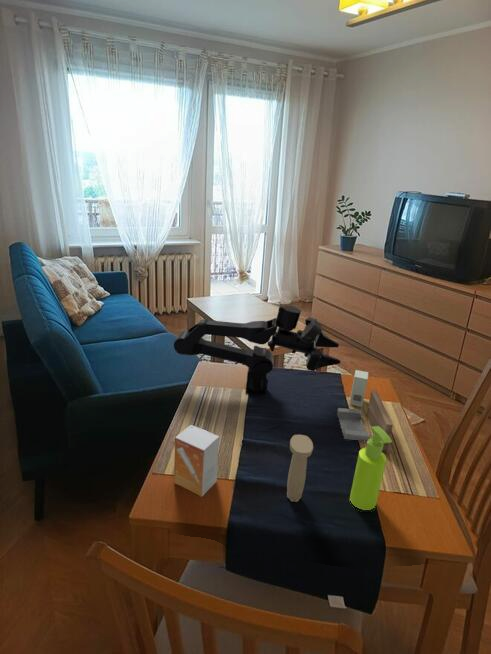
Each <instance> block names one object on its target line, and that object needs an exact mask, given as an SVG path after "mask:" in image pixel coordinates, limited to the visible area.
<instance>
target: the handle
mask: <svg viewBox="0 0 491 654" xmlns="http://www.w3.org/2000/svg"><path fill="white" fill-rule="evenodd" d="M289 450H290V452H291V454H292V455H291V461H290V465H289V470H288V475H287V487H286V488H287V489H286V490H287V492H286V497H287V498H288V499H289V500H290V502H292V503H293V502H295V503H298V502H299V500H300V499H301V498H302V496H303V492H304V488H305V484H306V483H305V482H306V478H307V465H308V457H311V455H312V453H313V451H314V444H313V441H312V439H311V438H310V437H309V436H307V435H304V434H294V435H293V436H292V437H291V438H290V440H289Z"/></svg>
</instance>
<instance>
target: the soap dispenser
mask: <svg viewBox="0 0 491 654" xmlns="http://www.w3.org/2000/svg"><path fill="white" fill-rule="evenodd" d="M370 430H371V431H373V432H374V433H373V432H372V437H370V439H368V441H367V442H366V447H364V448H361V449H360V450H359V452H358V456H357V461H356V465H355V471H354V475H353V480H352V485H351V490H350V496H349V502H350V501H351V503H352V504H353V505H354V506H355V507H357V508H359V509H362V510H371V509H373V508H375V509H376V507H377V502H378V498H379V495H380V489H381V485H382V481H383V477H384V472H385V468H386V464H387V457H386V455H385V454H384V453H382V450H383V443H390V444H391V443H393V440H392V439H391V436H390V437H389V436H388V435H387V433H386V432H385V431H384V430H383V429H382V428H380V427H379V426H374V427H371V426H370ZM351 503H350V504H351ZM375 506H376V507H375Z"/></svg>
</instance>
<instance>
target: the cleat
mask: <svg viewBox="0 0 491 654" xmlns="http://www.w3.org/2000/svg"><path fill="white" fill-rule="evenodd" d="M336 415H337V418H339V419H338V422H340V423H339V426H340V425H341V426H340V430H341V429H342V430H341V433H343V434H342V437H343V436H344V437H343V440H344V439H349V440H348V441H351V440H358V441H357V442H362V441H365V443H367V441H368V439H370V438H371V433H370V432H369V431H366V428H365V426H364V422H363V420H362V416H363V412H362V410H361V409H357V408H356V409H354V408H343V407H342V408H341V407H337V412H336ZM350 439H351V440H350Z"/></svg>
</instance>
